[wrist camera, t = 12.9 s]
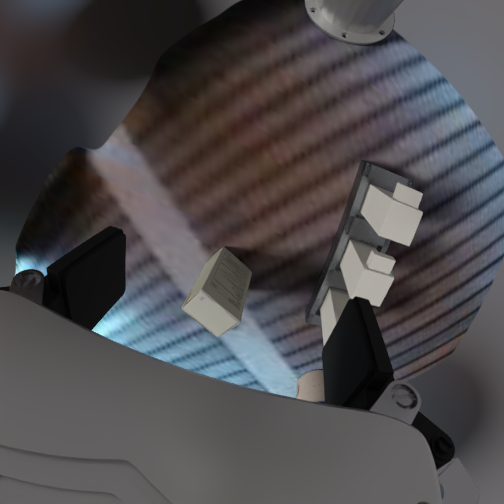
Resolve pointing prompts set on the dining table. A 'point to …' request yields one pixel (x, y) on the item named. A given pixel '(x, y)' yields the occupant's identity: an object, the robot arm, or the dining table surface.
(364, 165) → the rail
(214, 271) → the skincare box
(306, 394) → the teacup with lid
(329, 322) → the finger loose
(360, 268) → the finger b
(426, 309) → the dining table surface
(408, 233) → the cream block teal side
